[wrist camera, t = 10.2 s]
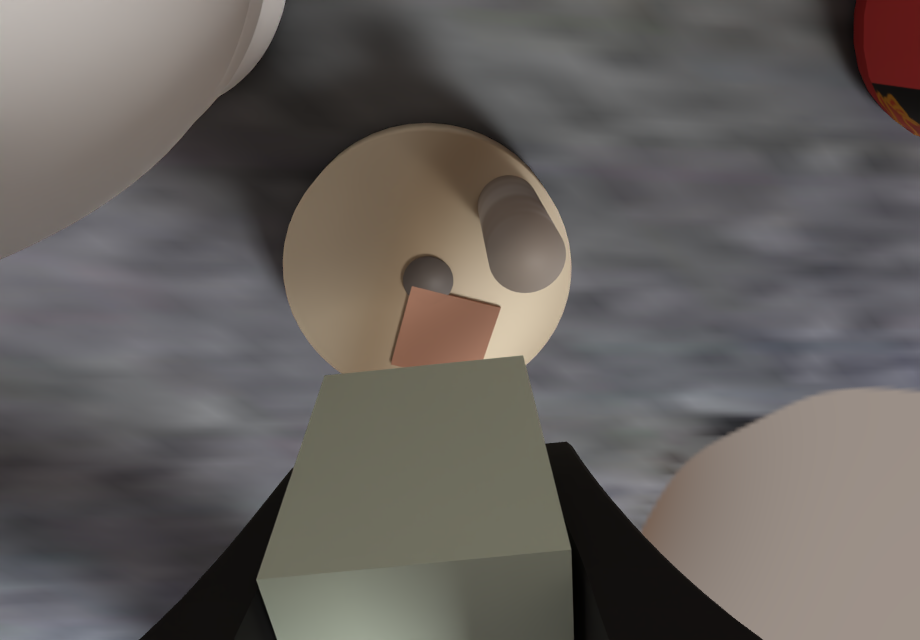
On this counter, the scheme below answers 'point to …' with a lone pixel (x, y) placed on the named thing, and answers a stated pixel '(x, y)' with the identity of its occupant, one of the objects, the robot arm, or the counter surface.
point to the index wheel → (426, 253)
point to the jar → (107, 96)
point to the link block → (422, 512)
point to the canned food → (890, 56)
